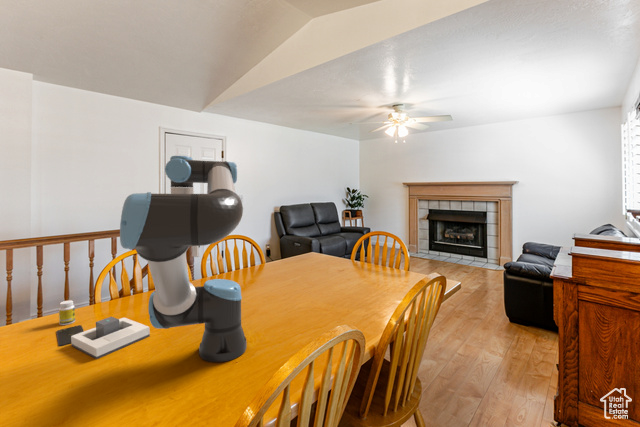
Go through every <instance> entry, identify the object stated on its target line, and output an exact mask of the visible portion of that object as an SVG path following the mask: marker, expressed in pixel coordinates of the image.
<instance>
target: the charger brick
mask: <svg viewBox="0 0 640 427" xmlns="http://www.w3.org/2000/svg"><path fill="white" fill-rule="evenodd" d="M119 319H120V318H115V317H114V316H109V317H106V318H104V319H101V320H97V321H95V327H96V338H97V339H98V338H101V337H103V336H106V335H108V334H111V333H114V332H116V331H119V330H120V326H119Z"/></svg>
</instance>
